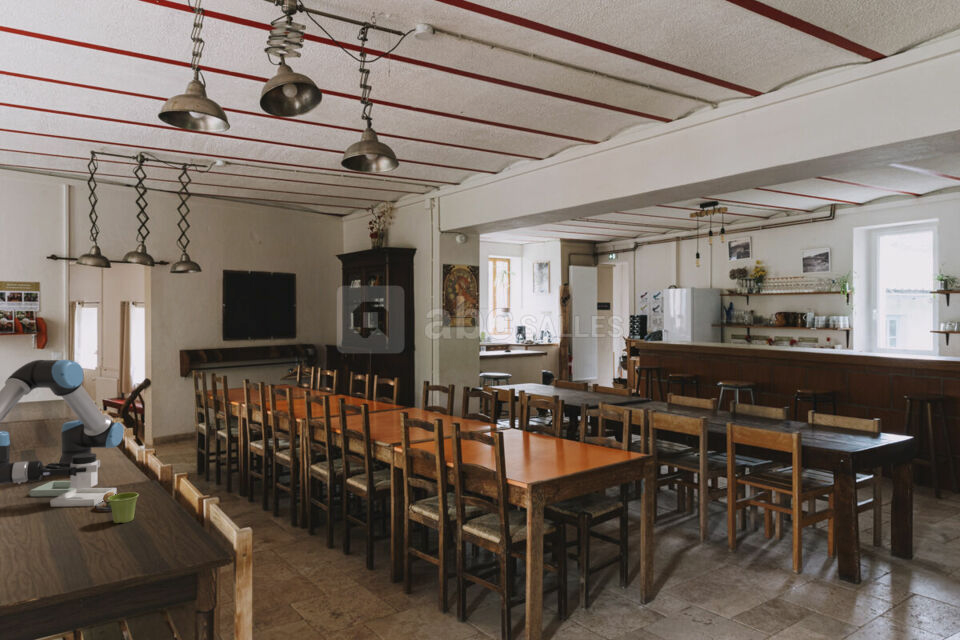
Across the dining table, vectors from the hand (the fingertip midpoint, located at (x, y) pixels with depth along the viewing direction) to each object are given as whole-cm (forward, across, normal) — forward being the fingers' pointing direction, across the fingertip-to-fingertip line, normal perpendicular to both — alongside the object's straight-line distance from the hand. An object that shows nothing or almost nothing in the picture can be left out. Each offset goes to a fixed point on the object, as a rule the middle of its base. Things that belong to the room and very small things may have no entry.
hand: (98, 465), depth 245 cm
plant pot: (+12, +34, -13) cm, 39 cm away
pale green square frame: (-15, -19, -13) cm, 28 cm away
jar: (-5, 0, -8) cm, 9 cm away
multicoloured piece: (+7, +15, -14) cm, 21 cm away
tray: (-5, 0, -13) cm, 14 cm away
